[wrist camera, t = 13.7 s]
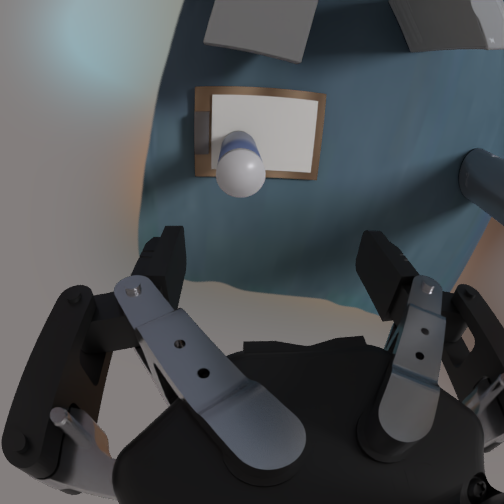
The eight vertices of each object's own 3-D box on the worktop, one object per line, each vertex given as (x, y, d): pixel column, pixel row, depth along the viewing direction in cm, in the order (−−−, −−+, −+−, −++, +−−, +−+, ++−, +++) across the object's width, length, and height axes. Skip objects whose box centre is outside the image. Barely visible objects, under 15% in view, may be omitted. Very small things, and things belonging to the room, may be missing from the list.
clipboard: (324, 94, 30) (329, 94, 28) (315, 178, 36) (318, 182, 34) (196, 86, 28) (193, 86, 27) (195, 174, 34) (194, 178, 33)
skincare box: (440, 48, 25) (525, 54, 12) (404, 53, 26) (490, 54, 13) (420, -4, 21) (499, -20, 7) (381, -3, 22) (458, -30, 8)
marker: (255, 129, 31) (267, 151, 21) (253, 160, 33) (263, 197, 23) (222, 128, 31) (216, 150, 20) (221, 160, 33) (215, 197, 22)
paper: (317, 101, 29) (318, 101, 29) (310, 172, 34) (310, 172, 34) (212, 94, 28) (212, 94, 28) (211, 168, 33) (211, 169, 33)
